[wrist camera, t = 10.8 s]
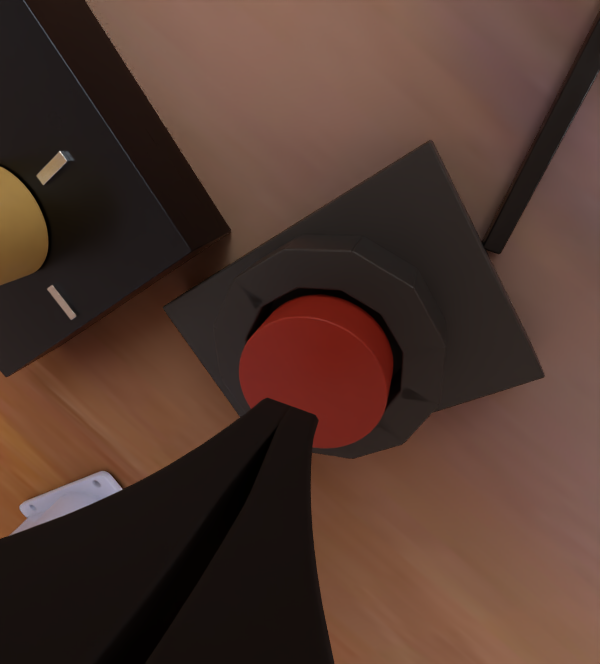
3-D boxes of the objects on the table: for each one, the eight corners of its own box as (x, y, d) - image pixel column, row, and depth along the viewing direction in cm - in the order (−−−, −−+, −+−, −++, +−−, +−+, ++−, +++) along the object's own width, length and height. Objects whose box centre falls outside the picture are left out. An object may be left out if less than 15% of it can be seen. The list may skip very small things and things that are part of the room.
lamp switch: (303, 430, 15) (288, 463, 14) (235, 328, 14) (210, 352, 13) (419, 390, 13) (416, 425, 12) (348, 268, 12) (335, 289, 11)
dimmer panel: (57, 347, 22) (2, 379, 19) (-71, 187, 20) (-154, 197, 17) (232, 231, 16) (189, 253, 13) (79, -9, 14) (-7, -40, 11)
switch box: (285, 438, 20) (256, 495, 17) (184, 292, 18) (132, 327, 15) (535, 352, 15) (559, 411, 12) (431, 138, 13) (428, 143, 10)
